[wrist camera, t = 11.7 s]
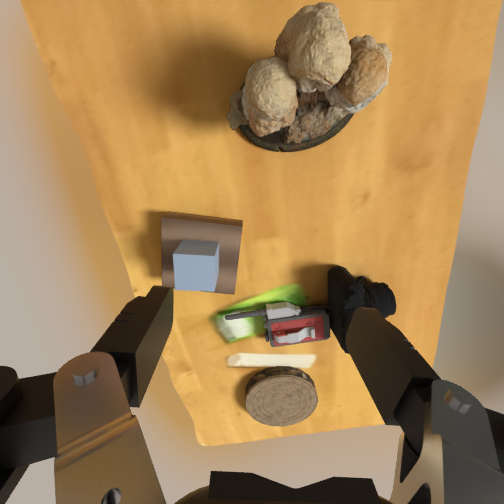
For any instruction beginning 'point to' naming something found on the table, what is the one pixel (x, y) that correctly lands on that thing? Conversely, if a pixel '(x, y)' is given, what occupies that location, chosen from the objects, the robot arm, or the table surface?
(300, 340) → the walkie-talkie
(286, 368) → the wood log slice
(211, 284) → the blue cube
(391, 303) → the film camera
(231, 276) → the brown block
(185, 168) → the table surface
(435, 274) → the table surface
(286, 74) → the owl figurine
